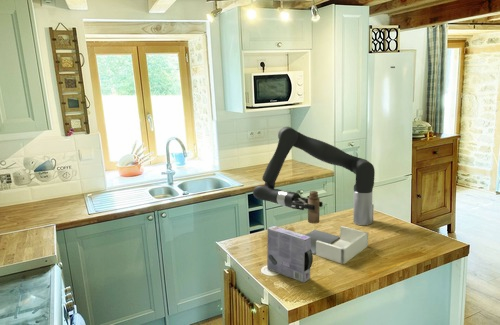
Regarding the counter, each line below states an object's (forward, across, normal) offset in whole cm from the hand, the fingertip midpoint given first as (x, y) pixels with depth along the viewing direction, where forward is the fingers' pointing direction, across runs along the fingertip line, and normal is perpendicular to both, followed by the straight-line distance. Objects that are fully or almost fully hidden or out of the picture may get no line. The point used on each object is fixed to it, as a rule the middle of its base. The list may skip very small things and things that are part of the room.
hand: (318, 206), depth 168 cm
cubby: (+12, 0, +18) cm, 22 cm away
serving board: (-2, 0, +19) cm, 19 cm away
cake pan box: (+6, -29, +19) cm, 35 cm away
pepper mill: (-3, 0, +8) cm, 8 cm away
